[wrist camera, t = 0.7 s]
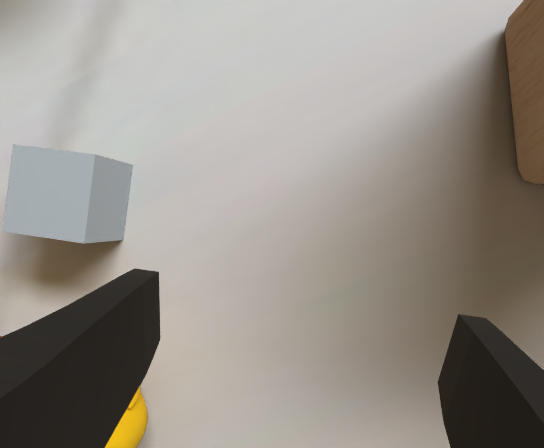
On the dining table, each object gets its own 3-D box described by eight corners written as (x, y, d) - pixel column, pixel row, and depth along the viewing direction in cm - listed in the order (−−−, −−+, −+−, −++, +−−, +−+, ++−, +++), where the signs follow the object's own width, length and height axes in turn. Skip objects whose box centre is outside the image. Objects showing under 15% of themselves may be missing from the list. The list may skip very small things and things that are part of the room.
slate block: (123, 239, 31) (84, 243, 26) (54, 229, 32) (2, 231, 27) (133, 165, 31) (95, 154, 26) (63, 156, 31) (13, 144, 26)
